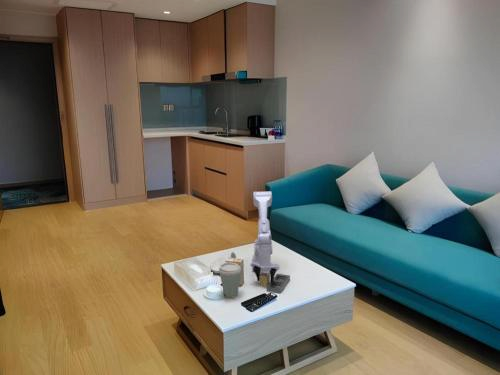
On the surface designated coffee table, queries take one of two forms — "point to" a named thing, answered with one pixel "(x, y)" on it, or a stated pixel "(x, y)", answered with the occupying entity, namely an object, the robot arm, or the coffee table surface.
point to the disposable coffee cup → (230, 278)
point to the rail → (278, 283)
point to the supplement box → (240, 263)
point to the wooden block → (264, 279)
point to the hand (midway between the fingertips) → (265, 281)
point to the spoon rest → (221, 261)
